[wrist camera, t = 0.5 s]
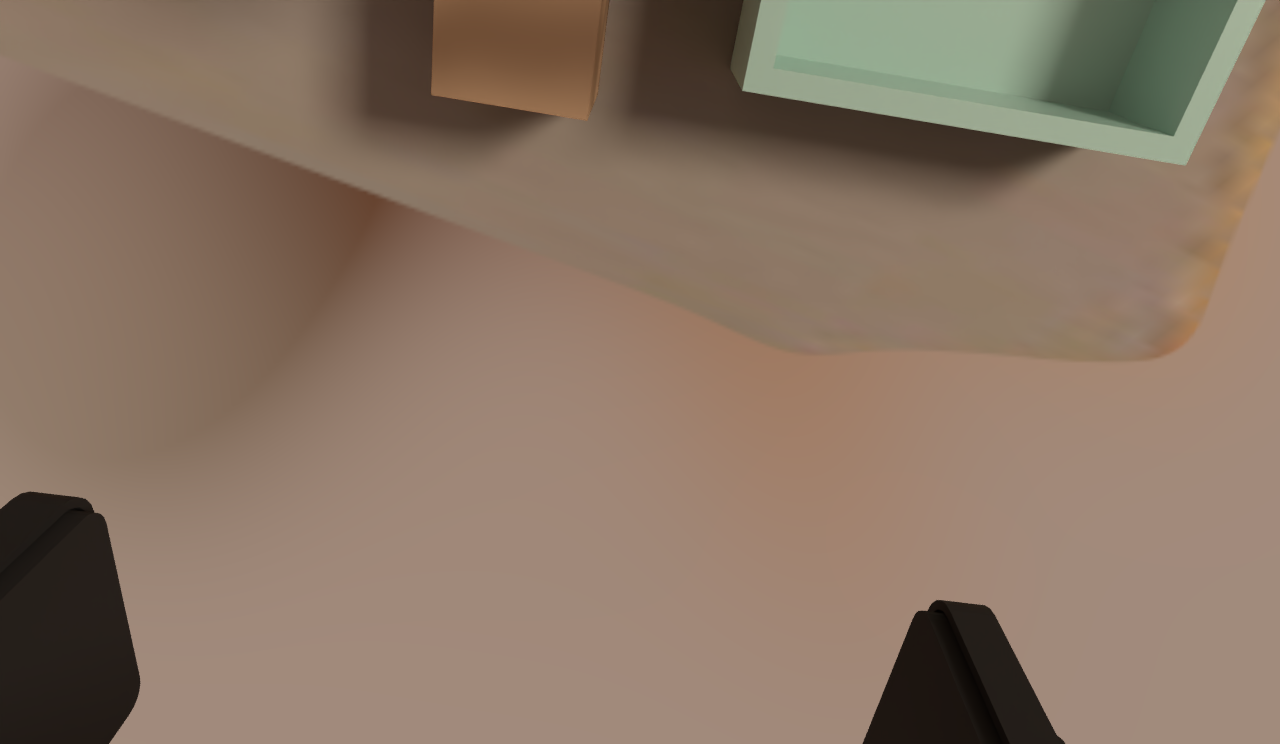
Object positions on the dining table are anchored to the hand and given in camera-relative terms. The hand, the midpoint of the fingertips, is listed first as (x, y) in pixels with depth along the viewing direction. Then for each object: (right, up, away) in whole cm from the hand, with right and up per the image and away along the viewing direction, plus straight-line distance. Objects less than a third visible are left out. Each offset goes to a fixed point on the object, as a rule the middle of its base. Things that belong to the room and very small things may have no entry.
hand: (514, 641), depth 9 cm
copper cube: (-2, +16, +19) cm, 25 cm away
